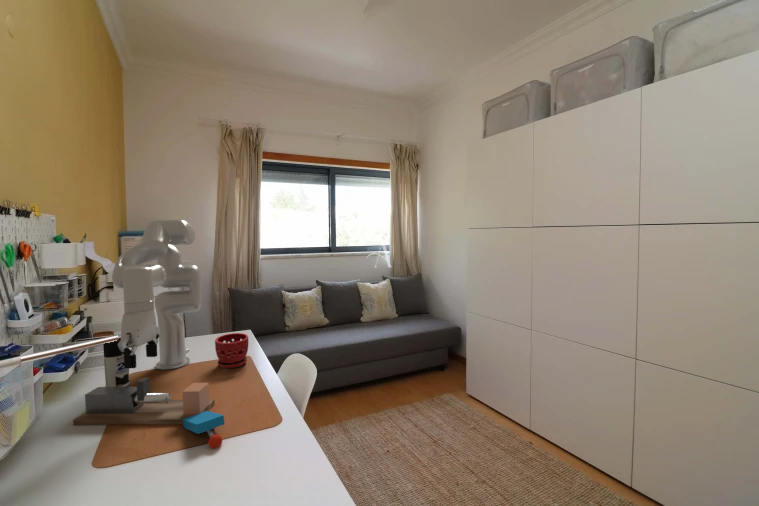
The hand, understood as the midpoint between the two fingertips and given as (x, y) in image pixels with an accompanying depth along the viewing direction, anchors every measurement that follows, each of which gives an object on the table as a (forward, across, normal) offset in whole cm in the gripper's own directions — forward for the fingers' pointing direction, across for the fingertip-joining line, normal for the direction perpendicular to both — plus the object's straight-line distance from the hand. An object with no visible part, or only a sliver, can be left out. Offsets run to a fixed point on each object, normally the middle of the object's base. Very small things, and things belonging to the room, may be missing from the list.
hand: (141, 362), depth 107 cm
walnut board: (+17, -1, +1) cm, 17 cm away
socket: (+15, -1, +16) cm, 22 cm away
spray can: (+17, -13, -17) cm, 27 cm away
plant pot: (+16, -41, +11) cm, 45 cm away
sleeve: (+15, -1, -9) cm, 18 cm away
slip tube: (+13, -1, -4) cm, 14 cm away
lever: (+18, +10, +24) cm, 32 cm away
